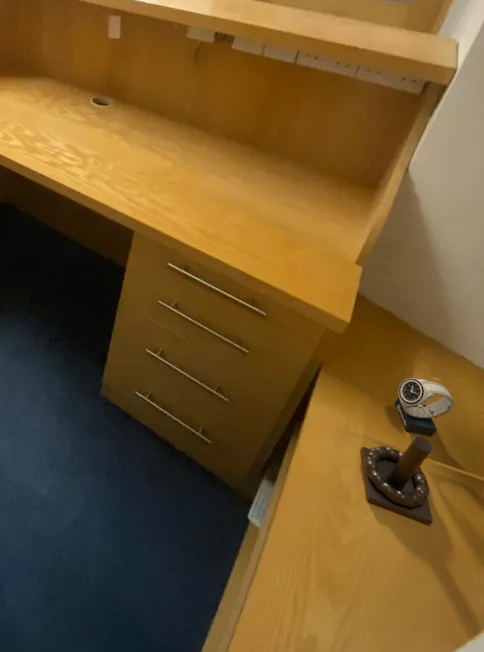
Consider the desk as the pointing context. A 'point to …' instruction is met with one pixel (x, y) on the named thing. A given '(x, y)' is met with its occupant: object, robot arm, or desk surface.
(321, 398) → the desk surface
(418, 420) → the watch
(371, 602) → the desk surface
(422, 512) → the stand
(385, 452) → the brown beaded bracelet ring
